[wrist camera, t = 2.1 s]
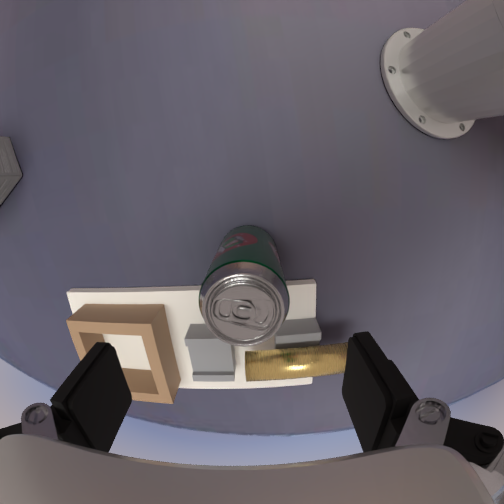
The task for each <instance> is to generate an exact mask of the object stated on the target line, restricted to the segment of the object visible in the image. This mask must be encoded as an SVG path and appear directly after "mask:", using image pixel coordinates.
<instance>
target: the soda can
mask: <svg viewBox="0 0 504 504" xmlns="http://www.w3.org/2000/svg"><path fill="white" fill-rule="evenodd" d="M289 305H290V297H289V292H288V288H287V284H286V281H285V277H284V274H283V270H282V267H281V263H280V260H279V256H278V253H277V249H276V246H275V243H274V241H273V239H272V238H271V236H270V235H269V234H268V233H267V232H266V231H264V230H263V229H261V228H258V227H255V226H241V227H237V228H235V229H233V230H232V231H230V232H229V233H228V234H227V235H226V236H225V237H224V239H223V241H222V242H221V245H220V247H219V249H218V251H217V253H216V255H215V257H214V259H213V262H212V264H211V266H210V268H209V270H208V272H207V274H206V277H205V279H204V281H203V283H202V286H201V288H200V292H199V309H200V312H201V315H202V317H203V319H204V321H205V324H206V325H207V327H208V329H209V330H210V331H211V333H212V334H213V335H214V336H216V337H217V338H218V339H220V340H221V341H223V342H225V343H228V344H230V345H234V346H242V347H247V346H254V345H258V344H261V343H263V342H265V341H267V340H268V339H270V338H271V337H272V336H273V335H275V334H276V332H277V331H278V330H279V328H280V326H281V325H282V324H283V322H284V321H285V319H286V317H287V314H288V311H289Z"/></svg>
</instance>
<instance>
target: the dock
mask: <svg viewBox="0 0 504 504" xmlns="http://www.w3.org/2000/svg"><path fill="white" fill-rule="evenodd" d="M286 284H287V288H288V292H289V297H290V305H289V311H288V314H287V317H286V319H285V321H284V322H283V324H282V325H281V326H280V328H279V330H278V331H277V332H276V334H275V335H273V336H272V337H271V338H270V339H268V340H267V341H265V342H263V343H261V344H258V345H254V346H247V347H242V346H234V345H230V344H228V343H225V342H223V341H221V340H220V339H218V338H217V337H216V336H214V335H213V334H212V333H211V331H210V330H209V329H208V327H207V325H206V324H205V321H204V319H203V317H202V315H201V312H200V309H199V292H200V288H201V286H202V285H198V286H171V287H135V288H72V289H70V290H69V291H68V292H67V296H68V299H69V303H70V306H71V310H72V313H73V315H71V316H70V317H69V318H68V319H67V320H66V322H67V325H68V328H69V331H70V334H71V336H72V339H73V342H74V345H75V348H76V350H77V353H78V355H79V358H80V361H81V360H82V359H83V358H84V356H85V355H86V354H87V353H88V351H89V350H90V349H91V348H92V347H93V345H94V344H95V343H96V342H107V343H110V344H111V345H112V346H113V347H114V348H115V349H116V352H117V355H118V359H119V361H120V364H121V367H122V370H123V373H124V376H125V379H126V381H127V384H128V387H129V389H130V392H131V395H132V400H138V401H147V402H157V403H170V404H173V403H174V399H175V396H176V393H177V390H178V388H197V389H240V388H265V387H281V386H294V385H304V384H312V377H307V378H297V379H285V380H270V381H250V382H246V376H245V351H253V350H271V349H286V348H298V347H309V346H319V340H321V330H320V328H319V325H318V323H317V320H316V318H315V317H316V282H315V280H314V279H306V280H291V281H286Z"/></svg>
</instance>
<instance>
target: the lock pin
mask: <svg viewBox="0 0 504 504" xmlns="http://www.w3.org/2000/svg"><path fill="white" fill-rule="evenodd" d="M347 349H348V342H345V343H337V344H329V345H319V346H309V347H298V348H286V349H271V350H253V351H245V376H246V382H250V381H270V380H285V379H297V378H307V377H317V376H325V375H333V374H340V373H344V372H345V365H346V357H347Z"/></svg>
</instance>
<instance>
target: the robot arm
mask: <svg viewBox="0 0 504 504" xmlns="http://www.w3.org/2000/svg"><path fill="white" fill-rule="evenodd" d="M380 64H381V73H382V77H383V80H384V84H385V87H386V89H387V91H388V93H389V96H390V97H391V99H392V101H393V102H394V104H395V106H396V107H397V108H398V110H399V111H400V112H401V113H402V115H403V116H404V117H405V118H406V119H407V120H408V121H409V122H410V123H411V124H412V125H413V126H415V127H416V128H417V129H419V130H420V131H422V132H423V133H425V134H427V135H429V136H432V137H435V138H439V139H452V138H457V137H460V136H462V135H464V134H465V133H467V132H468V131H469V130H470V128H471V127H472V126H473V124H474V122H475V119H482V118H489V117H496V116H504V0H467V1H465V2H464V3H462V4H461V5H459V6H458V7H456V8H455V9H454V10H452V11H451V12H449V13H448V14H446V15H445V16H443V17H442V18H441V19H439V20H438V21H436V22H435V23H434V24H432V25H431V26H429V27H428V28H427V29H425V30H424V29H419V28H405V29H401V30H399V31H397V32H396V33H394V34H393V35H392V36H391V37H390V38H389V39H388V40H387V41H386V43H385V44H384V46H383V49H382V53H381V62H380ZM342 395H343V399H344V401H345V404H346V406H347V409H348V412H349V414H350V417H351V420H352V422H353V425H354V428H355V430H356V433H357V436H358V438H359V441H360V444H361V446H362V449H363V453H358V454H353V455H348V456H342V457H336V458H330V459H323V460H315V461H308V462H299V463H289V464H278V465H261V466H208V465H191V464H178V463H169V462H160V461H153V460H146V459H139V458H133V457H128V456H122V455H117V454H112V453H109V450H110V448H111V446H112V444H113V441H114V439H115V437H116V435H117V432H118V430H119V428H120V426H121V424H122V422H123V419H124V417H125V415H126V413H127V411H128V409H129V407H130V404H131V402H132V395H131V392H130V389H129V387H128V384H127V381H126V379H125V376H124V373H123V370H122V367H121V364H120V361H119V359H118V355H117V352H116V349H115V348H114V347H113V346H112V345H111V344H110V343H107V342H96V343H95V344H94V345H93V347H92V348H91V349H90V350H89V351H88V353H87V354H86V355H85V356H84V358H83V359H82V360H81V361H80V362H79V364H78V365H77V366H76V367H75V369H74V370H73V371H72V372H71V374H70V375H69V376H68V377H67V379H66V380H65V381H64V382H63V384H62V385H61V386H60V388H59V389H58V390H57V391H56V393H55V394H54V395H53V397H52V398H51V399H50V401H51V402H52V406H51V407H50V406H48V405H47V404H45V403H35V404H32V405H30V406H28V407H27V408H26V409H25V410H24V411H23V413H22V417H21V421H22V422H21V423H18V424H15V425H12V426H9V427H5V428H2V429H0V504H504V439H503V435H502V434H501V433H500V431H498V430H497V429H495V428H493V427H490V426H485V425H480V424H475V423H471V422H467V421H463V420H459V419H455V418H451V417H450V414H451V411H450V409H449V407H448V406H447V404H446V403H444V402H443V401H441V400H439V399H436V398H424V399H421V400H419V399H418V398H417V396H416V395H415V393H414V392H413V390H412V389H411V387H410V386H409V384H408V383H407V381H406V380H405V378H404V377H403V375H402V374H401V373H400V371H399V370H398V368H397V367H396V365H395V364H394V362H393V361H392V360H388V359H387V357H386V356H385V354H384V353H383V351H382V350H381V349H380V347H379V346H378V344H377V343H376V341H375V340H374V339H373V337H372V336H371V334H370V333H369V332H360V333H354V334H353V337H350V338H349V340H348V349H347V357H346V365H345V372H344V380H343V386H342Z"/></svg>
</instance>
